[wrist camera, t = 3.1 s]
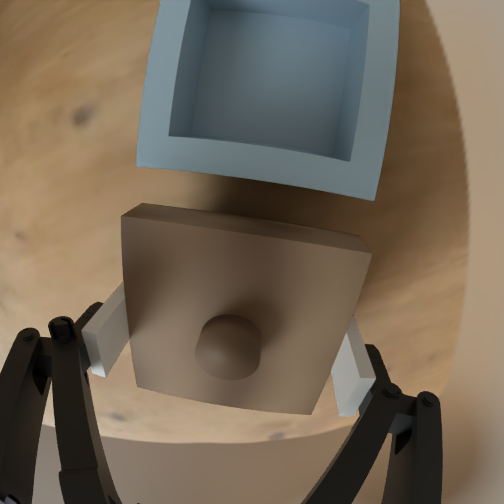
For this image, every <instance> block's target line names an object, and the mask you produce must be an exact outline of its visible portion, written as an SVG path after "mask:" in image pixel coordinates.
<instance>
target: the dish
mask: <svg viewBox="0 0 504 504" xmlns="http://www.w3.org/2000/svg"><path fill="white" fill-rule="evenodd" d="M399 14H400V0H161V2H160V6H159V10H158V14H157V19H156V23H155V27H154V32H153V37H152V42H151V47H150V52H149V58H148V63H147V69H146V75H145V82H144V89H143V96H142V104H141V112H140V121H139V131H138V142H137V155H136V167H146V168H158V169H169V170H180V171H190V172H199V173H208V174H216V175H224V176H232V177H239V178H247V179H254V180H260V181H267V182H273V183H280V184H286V185H292V186H298V187H304V188H309V189H315V190H320V191H326V192H331V193H336V194H341V195H346V196H351V197H356V198H361V199H365V200H370V201H374V200H375V196H376V192H377V187H378V182H379V178H380V173H381V168H382V163H383V157H384V152H385V147H386V141H387V135H388V129H389V122H390V116H391V109H392V101H393V93H394V85H395V76H396V65H397V53H398V38H399Z"/></svg>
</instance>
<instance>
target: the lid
mask: <svg viewBox="0 0 504 504" xmlns="http://www.w3.org/2000/svg"><path fill="white" fill-rule="evenodd" d="M121 242H122V265H123V281H124V294H125V302H126V312H127V321H128V330H129V339H130V346H131V353H132V360H133V366H134V372H135V378H136V383H137V387H140V388H144V389H148V390H151V391H155V392H159V393H163V394H168V395H172V396H176V397H181V398H185V399H190V400H195V401H200V402H206V403H211V404H217V405H223V406H229V407H236V408H243V409H250V410H259V411H268V412H278V413H289V414H304V415H311V414H312V412H313V409H314V407H315V405H316V403H317V401H318V399H319V397H320V394H321V392H322V390H323V388H324V386H325V383H326V381H327V379H328V376H329V374H330V372H331V369H332V366H333V364H334V362H335V359H336V357H337V354H338V352H339V349H340V347H341V344H342V342H343V339H344V337H345V334H346V332H347V329H348V327H349V324H350V321H351V319H352V316H353V313H354V310H355V307H356V304H357V302H358V299H359V296H360V293H361V290H362V287H363V284H364V281H365V277H366V274H367V271H368V268H369V265H370V261H371V258H372V255H373V254H372V252H371V251H370V250H369V248H368V247H367V246H366V244H365V243H364V242H363V240H362V239H361V238H360V237H359V235H354V234H349V233H343V232H337V231H332V230H326V229H320V228H314V227H308V226H302V225H296V224H290V223H283V222H277V221H271V220H264V219H258V218H251V217H244V216H237V215H230V214H223V213H216V212H209V211H202V210H194V209H187V208H179V207H171V206H163V205H155V204H146V203H141V204H140V205H138V206H136V207H135V208H133V209H132V210H130V211H128V212H127V213H125V214H123V215H122V216H121Z"/></svg>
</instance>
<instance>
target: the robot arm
mask: <svg viewBox="0 0 504 504" xmlns="http://www.w3.org/2000/svg"><path fill="white" fill-rule="evenodd" d="M48 328H49V331H50V335H51V338H49V337H40V334H39V331H38V330H37V329H35V328H26V329H23V330H22V331H20V332H19V333H18V335H17V337H16V339H15V341H14V343H13V345H12V347H11V350H10V352H9V354H8V356H7V359H6V361H5V363H4V366H3V368H2V371H1V373H0V504H31V503H32V496H33V485H34V474H35V465H36V457H37V449H38V443H39V437H40V431H41V426H42V420H43V415H44V410H45V406H46V401H47V397H48V393H49V389H50V385H51V381H52V391H53V407H54V418H55V428H56V435H57V444H58V450H59V456H60V462H61V468H62V469H61V471H60V472H59V482H60V486H61V491H62V495H63V499H64V502H65V504H122V502H121V500H120V498H119V497H118V494H117V492H116V489H115V486H114V483H113V480H112V477H111V474H110V471H109V468H108V464H107V461H106V458H105V454H104V450H103V447H102V442H101V439H100V434H99V430H98V426H97V421H96V417H95V412H94V407H93V402H92V396H91V390H90V384H89V378H88V373H87V370H88V368H89V367H90V366H91V369H92V372H93V374H96V375H99V376H102V377H105V378H106V377H107V375H108V373H109V372H110V370H111V368H112V366H113V365H114V363H115V361H116V360H117V358H118V356H119V355H120V353H121V352H122V350H123V348H124V347H125V345H126V343H127V342H128V340H129V330H128V321H127V312H126V302H125V294H124V281H123V282H122V283H121V285H120V286H119V287H118V288H117V289H116V290H115V291H114V292H113V294H112V295H111V296H110V297H109V298H108V299H107V300H106V302H105V303H101V302H96V303H94V304H93V305H91V306H90V307H89V308H88V309H87V310H86V311H85V312H84V313H83V314H82V315H81V317H80V318H79V319H78V320H77V321H76V322H75V323H74V322H73V320H72V319H71V318H69V317H66V316H60V317H56V318H54V319H52V320H51V321H50V322H49V324H48ZM381 358H382V357H381V355H380V352H379V351H378V349H377V348H376V347H375V346H374V345H371V344H364V342H363V339H362V337H361V334H360V331H359V329H358V326H357V323H356V321H355V318H354V315H353V316H352V319H351V321H350V324H349V327H348V329H347V332H346V334H345V337H344V339H343V342H342V344H341V347H340V349H339V352H338V354H337V357H336V359H335V362H334V364H333V366H332V369H331V374H332V380H333V385H334V390H335V396H336V402H337V407H338V413H339V416H354V415H355V414H356V412H357V410H359V414H360V416H359V418H358V419H357V421H356V422H355V424H354V426H353V427H352V430H351V431H350V433H349V435H348V436H347V438H346V440H345V441H344V443H343V444H342V446H341V448H340V449H339V451H338V453H337V454H336V455H335V457H334V459H333V460H332V462H331V463H330V464H329V466H328V467H327V469H326V471H325V472H324V473H323V475H322V476H321V477H320V479H319V480H318V482H317V483H316V484H315V486H314V487H313V488H312V490H311V491H310V492H309V494H308V495H307V496H306V498H305V499H304V500H303V502H302V503H301V504H351V503H352V502H353V500H354V498H355V497H356V495H357V493H358V492H359V490H360V488H361V486H362V484H363V482H364V481H365V479H366V477H367V475H368V473H369V471H370V469H371V468H372V466H373V464H374V461H375V460H376V458H377V455H378V453H379V451H380V449H381V447H382V445H383V443H384V441H385V438H386V436H387V434H388V433H392V443H391V451H390V458H389V465H388V471H387V478H386V483H385V489H384V494H383V499H382V503H381V504H441V492H442V467H443V464H442V463H443V462H442V461H443V451H442V423H441V409H440V402H439V399H438V398H437V396H436V395H434V394H433V393H431V392H428V391H423V392H420V393H419V394H418V396H417V397H412V396H408V395H405V394H403V393H402V391H401V389H400V388H399V387H398V386H397V385H395V384H394V383H391V381H390V378H389V375H388V373H387V370H386V368H385V365H384V363H383V360H382V359H381ZM137 504H139V503H137Z"/></svg>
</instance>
